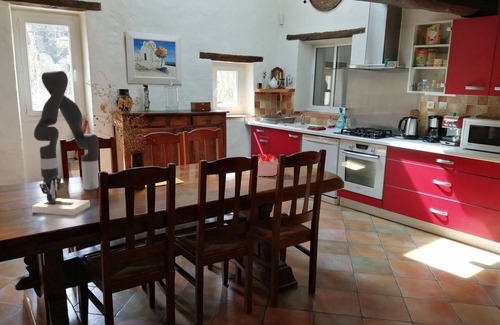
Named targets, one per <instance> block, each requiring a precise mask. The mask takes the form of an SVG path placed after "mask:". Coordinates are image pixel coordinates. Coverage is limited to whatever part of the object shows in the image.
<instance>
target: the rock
mask: <svg viewBox="0 0 500 325" xmlns="http://www.w3.org/2000/svg"><path fill="white" fill-rule="evenodd" d="M57 187H58V185H57ZM57 198H61V199H70V194H69V190H68V186H67V183H66V182H61V183H60V188H59V190H57Z"/></svg>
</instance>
